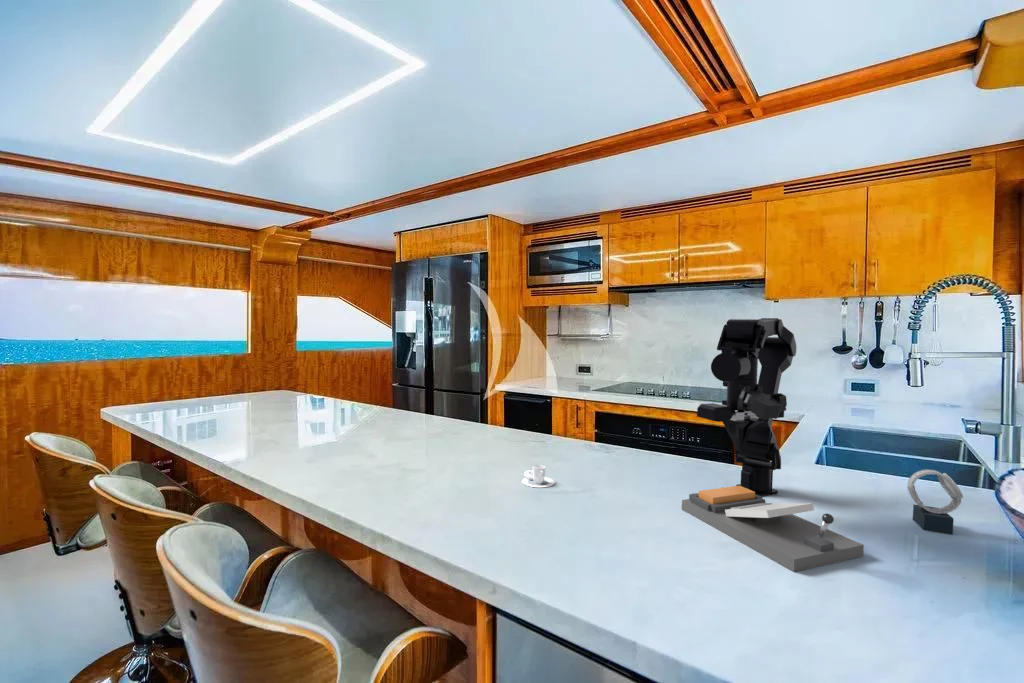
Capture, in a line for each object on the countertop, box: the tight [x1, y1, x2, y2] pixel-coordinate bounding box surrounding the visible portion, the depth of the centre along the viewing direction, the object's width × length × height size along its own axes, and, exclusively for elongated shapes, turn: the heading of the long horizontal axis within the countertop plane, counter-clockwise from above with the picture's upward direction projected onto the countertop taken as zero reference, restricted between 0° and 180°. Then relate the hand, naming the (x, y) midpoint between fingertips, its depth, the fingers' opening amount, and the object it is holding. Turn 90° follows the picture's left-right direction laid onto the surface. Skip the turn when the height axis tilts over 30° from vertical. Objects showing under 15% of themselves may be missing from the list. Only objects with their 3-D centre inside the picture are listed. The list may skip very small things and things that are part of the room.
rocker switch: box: [725, 502, 815, 518], centre depth 88 cm, size 11×10×1 cm
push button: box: [698, 485, 755, 504], centre depth 97 cm, size 11×4×2 cm, turn 110°
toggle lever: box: [817, 513, 835, 538], centre depth 78 cm, size 2×2×5 cm
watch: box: [907, 469, 964, 535], centre depth 92 cm, size 6×8×11 cm
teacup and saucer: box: [521, 464, 556, 488], centre depth 114 cm, size 9×8×4 cm
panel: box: [681, 492, 865, 573], centre depth 89 cm, size 16×26×3 cm, turn 20°
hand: (739, 450), depth 100 cm, fingers closed
